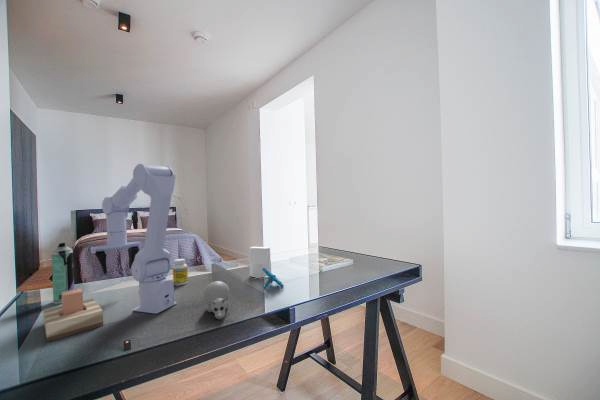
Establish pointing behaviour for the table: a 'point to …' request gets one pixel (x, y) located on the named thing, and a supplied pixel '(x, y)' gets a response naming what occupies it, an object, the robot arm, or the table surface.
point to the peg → (72, 301)
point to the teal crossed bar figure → (271, 279)
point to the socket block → (72, 320)
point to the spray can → (62, 271)
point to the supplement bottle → (180, 272)
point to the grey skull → (217, 298)
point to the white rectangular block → (259, 261)
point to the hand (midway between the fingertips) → (118, 270)
